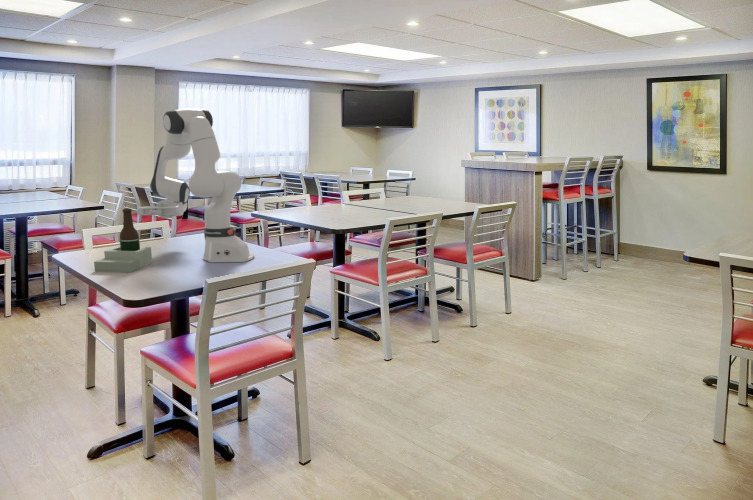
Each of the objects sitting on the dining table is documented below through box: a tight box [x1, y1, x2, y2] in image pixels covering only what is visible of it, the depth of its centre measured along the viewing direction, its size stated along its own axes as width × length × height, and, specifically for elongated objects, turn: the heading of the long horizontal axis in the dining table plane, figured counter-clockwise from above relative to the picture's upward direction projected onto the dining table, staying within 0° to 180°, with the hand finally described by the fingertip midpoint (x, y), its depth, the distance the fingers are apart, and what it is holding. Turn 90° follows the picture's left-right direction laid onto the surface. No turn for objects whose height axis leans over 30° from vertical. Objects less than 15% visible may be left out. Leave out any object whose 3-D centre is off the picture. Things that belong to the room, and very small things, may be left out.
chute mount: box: [93, 245, 153, 273], centre depth 254 cm, size 16×18×7 cm
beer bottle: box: [119, 208, 141, 251], centre depth 258 cm, size 8×8×24 cm
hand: (151, 212), depth 275 cm, fingers closed
